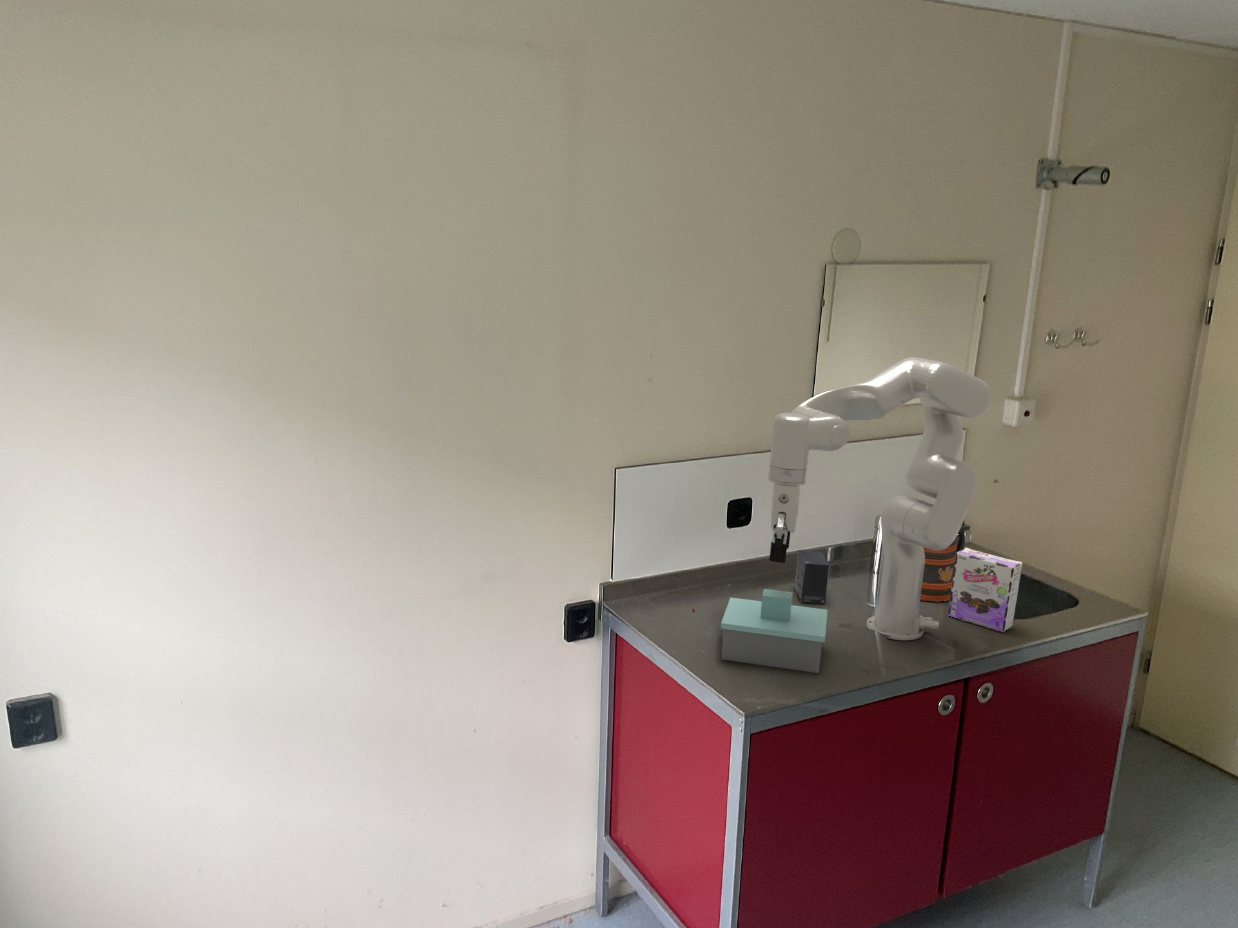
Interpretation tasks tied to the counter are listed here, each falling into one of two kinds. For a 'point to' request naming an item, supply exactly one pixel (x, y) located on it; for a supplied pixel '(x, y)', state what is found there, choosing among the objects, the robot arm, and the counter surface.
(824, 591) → the small box
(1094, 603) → the counter surface
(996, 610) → the candy box
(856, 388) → the robot arm
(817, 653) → the tub
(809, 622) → the lid
